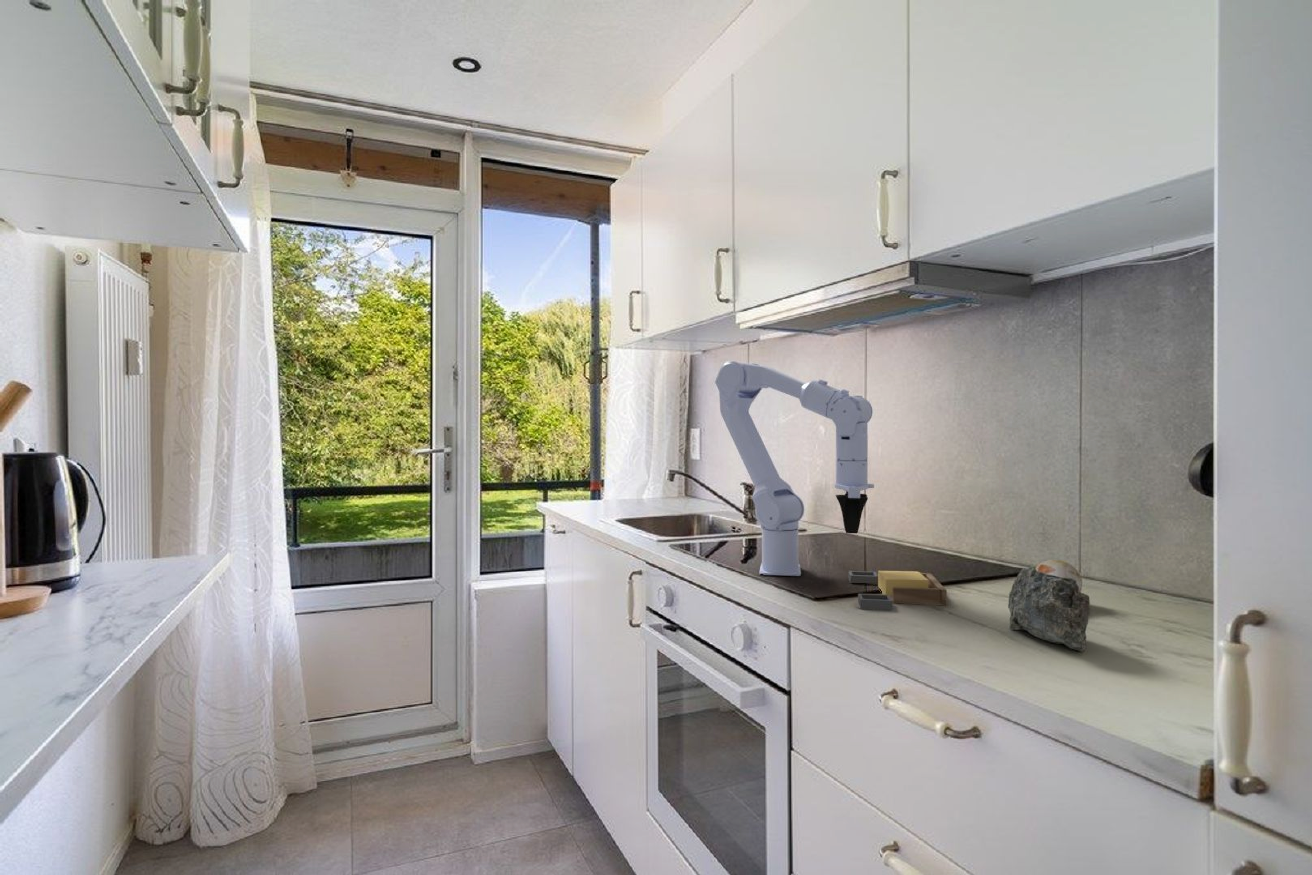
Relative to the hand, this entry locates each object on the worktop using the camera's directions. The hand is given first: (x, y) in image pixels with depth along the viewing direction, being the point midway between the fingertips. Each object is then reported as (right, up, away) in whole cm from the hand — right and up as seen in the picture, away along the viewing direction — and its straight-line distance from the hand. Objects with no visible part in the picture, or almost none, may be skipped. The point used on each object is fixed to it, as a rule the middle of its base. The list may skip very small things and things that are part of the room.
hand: (851, 532), depth 129 cm
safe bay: (+8, -10, -9) cm, 15 cm away
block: (+7, -10, -8) cm, 14 cm away
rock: (+17, -10, -34) cm, 39 cm away
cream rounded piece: (+29, -10, -17) cm, 35 cm away
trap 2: (-1, -10, -17) cm, 19 cm away
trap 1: (+2, -9, +1) cm, 10 cm away
